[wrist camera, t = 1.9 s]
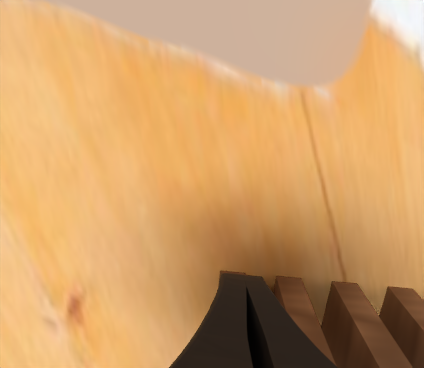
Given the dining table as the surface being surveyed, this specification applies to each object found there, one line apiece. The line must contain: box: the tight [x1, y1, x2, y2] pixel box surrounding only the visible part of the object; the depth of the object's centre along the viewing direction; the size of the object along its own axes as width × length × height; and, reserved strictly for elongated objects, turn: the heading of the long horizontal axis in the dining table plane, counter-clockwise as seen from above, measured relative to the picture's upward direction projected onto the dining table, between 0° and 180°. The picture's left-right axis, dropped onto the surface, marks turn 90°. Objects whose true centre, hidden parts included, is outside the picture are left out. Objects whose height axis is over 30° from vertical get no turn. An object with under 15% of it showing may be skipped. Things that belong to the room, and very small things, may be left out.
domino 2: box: [321, 281, 413, 368], centre depth 18 cm, size 2×5×8 cm, turn 175°
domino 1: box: [273, 276, 336, 365], centre depth 18 cm, size 2×5×8 cm, turn 175°
